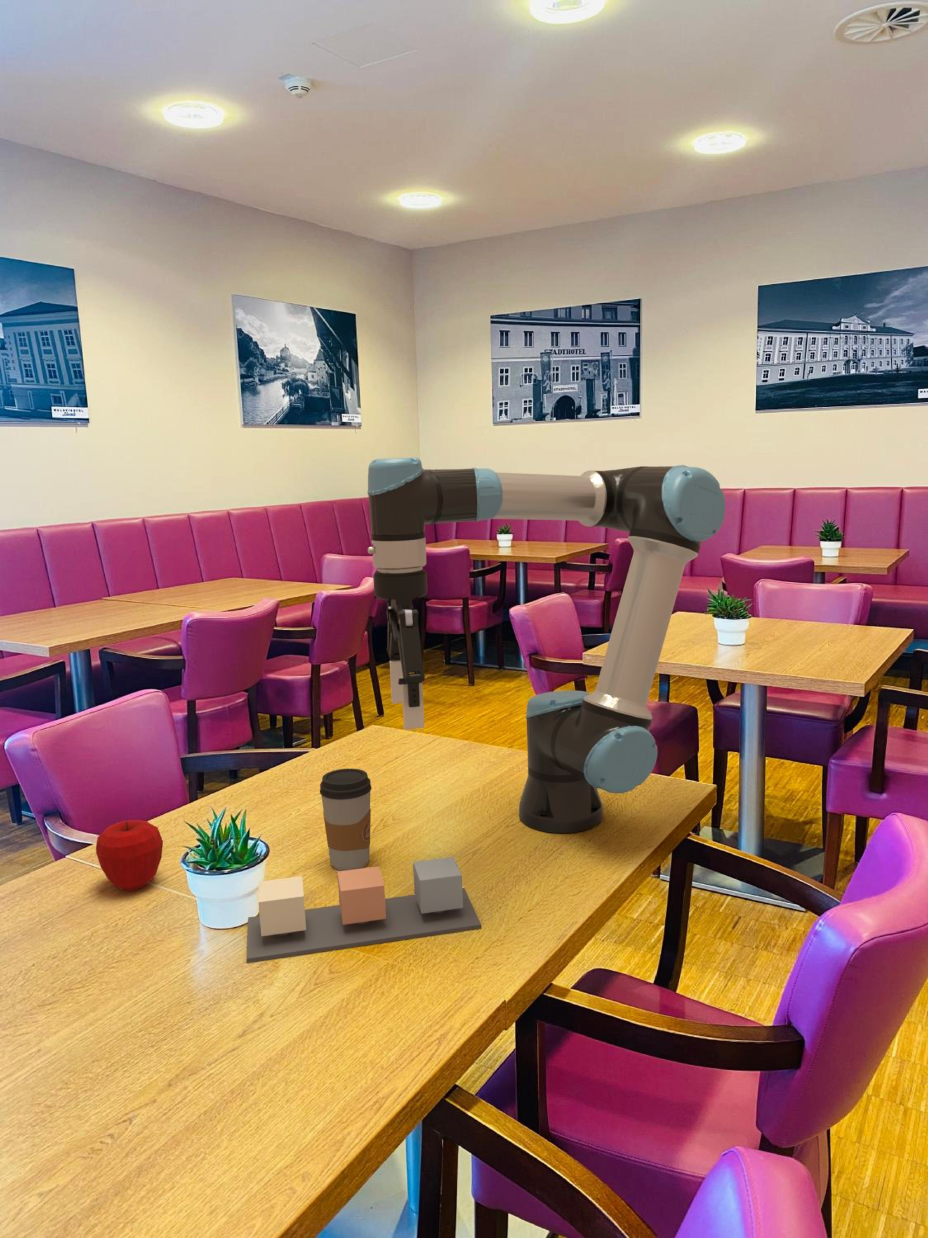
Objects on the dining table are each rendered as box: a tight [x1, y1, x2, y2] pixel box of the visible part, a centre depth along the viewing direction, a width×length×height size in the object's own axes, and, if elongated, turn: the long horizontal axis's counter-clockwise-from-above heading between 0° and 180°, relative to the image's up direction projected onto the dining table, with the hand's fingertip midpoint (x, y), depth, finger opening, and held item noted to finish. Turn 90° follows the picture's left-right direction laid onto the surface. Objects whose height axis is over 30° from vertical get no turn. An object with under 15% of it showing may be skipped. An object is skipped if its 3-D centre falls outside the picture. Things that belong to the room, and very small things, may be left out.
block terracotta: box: [336, 866, 386, 925], centre depth 124 cm, size 6×6×5 cm
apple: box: [95, 819, 164, 892], centre depth 138 cm, size 10×10×11 cm
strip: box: [246, 887, 482, 964], centre depth 125 cm, size 32×11×2 cm, turn 103°
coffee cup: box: [319, 768, 372, 871], centre depth 143 cm, size 8×8×15 cm
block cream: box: [258, 875, 306, 936], centre depth 122 cm, size 6×6×5 cm
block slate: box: [412, 856, 463, 914], centre depth 127 cm, size 6×6×5 cm
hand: (407, 714), depth 128 cm, fingers open, 13 cm apart
